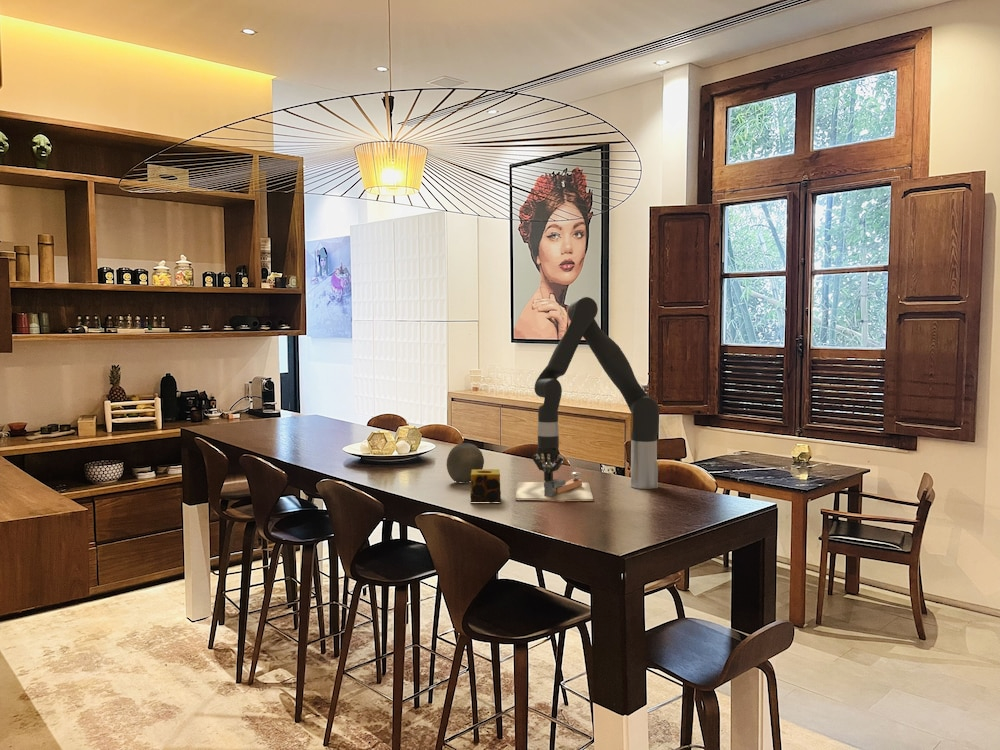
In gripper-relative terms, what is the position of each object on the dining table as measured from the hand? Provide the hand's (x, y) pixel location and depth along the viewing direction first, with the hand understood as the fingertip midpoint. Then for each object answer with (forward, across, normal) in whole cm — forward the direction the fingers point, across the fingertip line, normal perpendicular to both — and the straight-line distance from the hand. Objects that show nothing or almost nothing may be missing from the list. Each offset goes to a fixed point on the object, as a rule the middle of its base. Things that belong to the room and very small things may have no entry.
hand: (548, 482), depth 272 cm
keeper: (+2, -7, +8) cm, 10 cm away
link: (+2, -7, -1) cm, 7 cm away
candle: (+3, +10, +25) cm, 27 cm away
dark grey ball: (+3, +34, +3) cm, 34 cm away
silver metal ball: (0, -7, -8) cm, 11 cm away
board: (+3, -3, +1) cm, 4 cm away
